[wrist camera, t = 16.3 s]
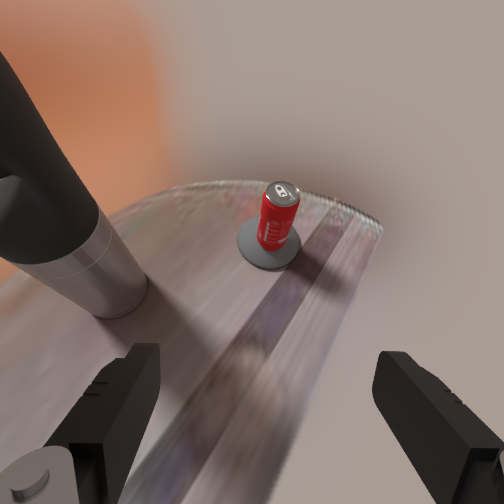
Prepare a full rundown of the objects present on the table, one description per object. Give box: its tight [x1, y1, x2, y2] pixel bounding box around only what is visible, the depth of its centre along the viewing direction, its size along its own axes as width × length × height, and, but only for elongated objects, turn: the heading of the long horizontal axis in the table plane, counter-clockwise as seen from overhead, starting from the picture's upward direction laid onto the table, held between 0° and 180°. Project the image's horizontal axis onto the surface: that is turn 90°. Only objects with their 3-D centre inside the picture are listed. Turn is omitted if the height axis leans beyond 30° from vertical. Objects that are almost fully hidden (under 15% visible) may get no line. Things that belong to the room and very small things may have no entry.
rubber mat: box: [238, 216, 299, 269], centre depth 46 cm, size 11×11×1 cm
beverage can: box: [257, 181, 300, 251], centre depth 40 cm, size 5×5×12 cm
